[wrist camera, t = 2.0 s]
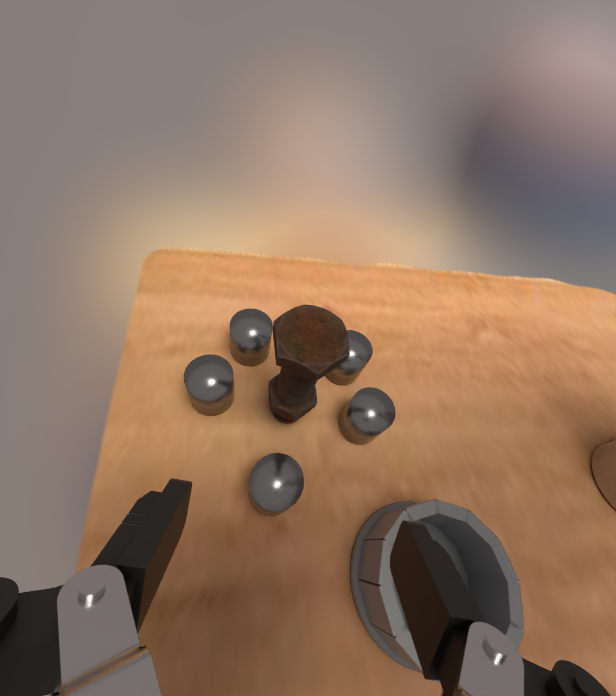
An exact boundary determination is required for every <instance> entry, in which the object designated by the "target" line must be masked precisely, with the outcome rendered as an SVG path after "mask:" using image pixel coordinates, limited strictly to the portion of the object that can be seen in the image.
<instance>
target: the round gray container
mask: <svg viewBox="0 0 616 696" xmlns="http://www.w3.org/2000/svg"><path fill="white" fill-rule="evenodd" d="M403 520H406V521H411V522H417V523H422V524H424V525H425V526H426V528H427V530H428V532H429V534H430V535H431V537H432V539H433V540H434V541H438V543H439V544H440V545H441V546H442V547H443V548H444V549H445V550H446V551H447V552H448V553H449V555H450V557H451V559H452V561H453V562H454V564H455V566H456V570H458V571H459V573H460V575H461V577H462V581H464V582H465V584H466V586H467V588H468V590H469V591H470V593H471V595H472V597H473V599H474V601H475V602H476V604H477V606H478V608H479V610H480V611H481V613H482V615H483V617H484V619H485V621H486V622H487V624H489V625H491V626H493V627H495V628H496V629H498V630H499V631H501V632H502V633H503V634H504V635H505V636H506V637H507V638H508V639H509V640H510V641H511V642H512V643H513V645H514V646H515V647H516V649H518V647H519V644H520V641H521V639H522V636H523V634H524V632H523V631H522V630H524V622H523V611H522V600H521V589H520V583H517V582H518V581H519V579H518V577H517V575H516V573H515V571H514V569H513V567H512V565H511V562H510V560H509V558H508V556H507V554H506V552H505V550H504V548H503V546H502V544H501V541H500V540H498V537H497V536H496V535H495V534H494V533H493V532H492V531H491V530H490V529H488V528H487V527H486V526H485V525H484V524H483V523H482V522H481V521H480V520H479V519H478V518H477V517H476V516H475V515H474V514H473V513H472V512H471V511H468V509H465V508H462V507H459V506H456V505H453V504H449V503H446V502H443V501H440V500H437V499H436V500H435V499H434V500H430V501H425V502H421V503H416V502H399V503H395V504H391V505H388V506H386V507H383V508H381V509H380V510H378V511H376V512H375V513H374V514H373V515H371V516H370V517H369V519H368V520H367V521H366V522H365V523H364V525H363V526H362V528H361V529H360V531H359V533H358V535H357V537H356V540H355V543H354V546H353V550H352V555H351V563H350V582H351V590H352V595H353V599H354V603H355V606H356V609H357V612H358V614H359V617H360V619H361V621H362V623H363V625H364V627H365V629H366V630H367V632H368V634H369V635H370V636H371V638H372V639H373V640H374V642H375V643H376V644H377V645H378V646H379V647H380V648H381V649H382V650H383V651H384V652H385V653H386V654H387V655H389V656H390V657H391V658H392V659H394V660H395V661H396V662H398V663H400V664H401V665H403V666H405V667H407V668H409V669H412V670H414V671H418V672H420V673H422V674H423V671H422V668H421V665H420V662H419V659H418V656H417V652H416V649H415V646H414V643H413V640H412V637H411V634H410V631H409V627H408V624H407V621H406V618H405V615H404V612H403V609H402V606H401V602H400V599H399V596H398V593H397V590H396V587H395V584H394V581H393V577H392V574H391V570H390V554H391V551H392V548H393V545H394V542H395V539H396V536H397V533H398V530H399V527H400V524H401V522H402V521H403ZM521 629H522V630H521ZM423 675H424V674H423ZM433 681H436V682H439V683H440V681H437V680H433Z"/></svg>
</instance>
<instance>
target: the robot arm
mask: <svg viewBox="0 0 616 696" xmlns="http://www.w3.org/2000/svg"><path fill="white" fill-rule="evenodd" d="M591 464H592V471H593V474H594V478H595V480H596V482H597V485H598V487H599V489H600V490H601V492H602V493H603V495H604V496H605V498H606V499H607V500H608V502H609V503H610V504H611V505H612V506H613V507H614V508H615V509H616V437H615V438H613V441H612V442H608V443H605V444H602V445H600V446H598V447H597V448H596V449H595V450H594V452H593V455H592V462H591ZM191 488H192V482H189V481H184V480H178V479H172V478H171V479H170V480H169V482H168V483H167V485H166V487H165V488H164V490H163V492H162V493H161V492H155V491H150V492H149V493H147V494H146V495H144V496H143V497H141V498H140V499H138V500H137V502H136V503H135V505H134V506H133V507H132V509H131V510H130V512H129V514H128V515H127V516H126V517H125V519H124V520H123V522H122V524H120V526H119V527H118V529H117V530H116V531H115V533H114V534H113V536H112V537H111V539H110V540H109V541H108V543H107V544H106V546H105V547H104V548H103V550H102V551H101V553H100V554H99V555H98V557H97V558H96V560H95V561H94V563H93V564H92V565H91V566H90V567H88V568H86V569H84V570H82V571H80V572H78V573H76V574H75V575H74V576H72V577H71V578H70V579H69V580H68V581H67V582H66V583H65V584H64V585H62V586H58V587H55V588H50V589H44V590H37V591H30V592H23V593H19V591H18V586H17V584H16V583H15V582H14V581H13V580H11V579H8V578H3V577H0V696H44V695H48V694H50V696H161V692H160V688H159V684H158V680H157V676H156V673H155V669H154V665H153V661H152V658H151V654H150V652H149V649H148V648H147V647H146V646H144V647H141V645H140V643H139V639H138V635H137V634H138V632H139V629H140V627H141V625H142V623H143V620H144V618H145V616H146V614H147V611H148V609H149V607H150V605H151V602H152V600H153V598H154V596H155V593H156V591H157V589H158V587H159V584H160V582H161V580H162V578H163V575H164V573H165V571H166V569H167V566H168V564H169V562H170V560H171V557H172V555H173V553H174V551H175V548H176V546H177V544H178V542H179V539H180V537H181V534H182V532H183V529H184V525H185V521H186V517H187V511H188V506H189V500H190V494H191ZM390 570H391V574H392V577H393V581H394V584H395V587H396V590H397V593H398V596H399V599H400V602H401V606H402V609H403V612H404V615H405V618H406V621H407V624H408V627H409V631H410V634H411V637H412V640H413V643H414V646H415V649H416V652H417V656H418V659H419V662H420V665H421V668H422V671H423V674H424V678H425V679H429V680H437V681H440V683H441V686H442V689H443V691H442V693H441V696H610V694H609V693H608V692H607V691H606V689H605V688H604V687H603V686H602V685H601V684H600V683H599V682H598V681H597V680H596V679H595V678H594V677H593V676H592V675H590V674H589V673H588V672H587V671H585V670H584V669H582V668H581V667H579V666H577V665H576V664H574V663H571V662H569V661H565V660H560V661H557V662H556V663H555V665H554V667H553V669H552V671H549V670H547V669H544V668H542V667H540V666H538V665H536V664H534V663H532V662H530V661H528V660H525V659H523V658H522V657H521V656H520V654H519V652H518V650H517V649H516V647H515V646H514V645H513V643H512V642H511V641H510V640H509V639H508V638H507V637H506V636H505V635H504V634H503V633H502V632H501V631H499V630H498V629H496V628H495V627H493V626H491V625H489V624H487V622H486V621H485V619H484V617H483V615H482V613H481V611H480V610H479V608H478V606H477V604H476V602H475V601H474V599H473V597H472V595H471V593H470V591H469V590H468V588H467V586H466V584H465V582H464V581H462V577H461V575H460V573H459V571H458V570H456V566H455V564H454V562H453V561H452V559H451V557H450V555H449V553H448V552H447V551H446V550H445V549H444V548H443V547H442V546H441V545H440V544H439V543H438V541H434V540H433V539H432V537H431V535H430V534H429V532H428V530H427V528H426V526H425V525H424V524H422V523H417V522H411V521H406V520H403V521H402V522H401V524H400V527H399V530H398V533H397V536H396V539H395V542H394V545H393V548H392V551H391V554H390Z"/></svg>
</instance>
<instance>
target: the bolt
mask: <svg viewBox="0 0 616 696" xmlns="http://www.w3.org/2000/svg"><path fill="white" fill-rule="evenodd" d="M273 338H274V347H275V357H276V365H278V366H281V371H280V374H278V375H277V376H275V377H274V378H273V379H272V380H270V381H269V386H268V387H269V402H270V410H271V411H273V413H274V416H275V417H276V418H277V419H278V420H279V421H281V422H283V423H293V422H295V421H297V420H298V419H299V418H301V417H302V416H303V415H305V414H306V413H308V412H309V411H310V410H311V409H313V408H314V407H315V405H316V404H317V395H316V388H315V384H316V382H317V380H319V379H320V378H322V377H323V376H325V375H326V374H328V373H329V372H331V371H332V370H334V369H335V368H337V367H338V366H340V365H341V364H343V363H344V362H346V360H347V358H348V357H349V355H350V348H349V340H348V335H347V331H346V328H345V325H344V323H343V321H342V320H341V319H340V318H339V317H337V316H336V315H335V314H333V313H332V312H330V311H328V310H326V309H323V308H321V307H317V306H312V305H301V306H298V307H295V308H293V309H291V310H289V311H287V312H286V313H284V314H282V315H281V316H280V317H278V318H277V319H276V320H275V321H274V324H273Z"/></svg>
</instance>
